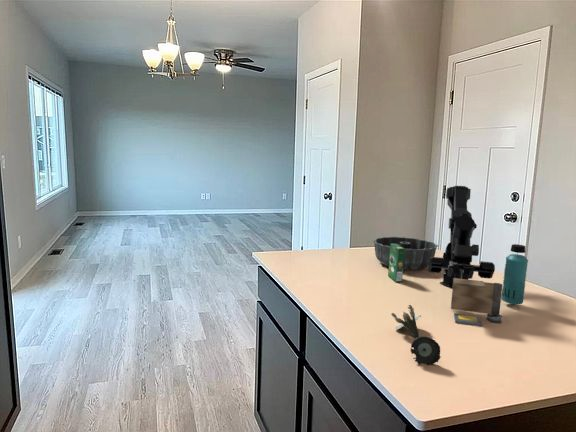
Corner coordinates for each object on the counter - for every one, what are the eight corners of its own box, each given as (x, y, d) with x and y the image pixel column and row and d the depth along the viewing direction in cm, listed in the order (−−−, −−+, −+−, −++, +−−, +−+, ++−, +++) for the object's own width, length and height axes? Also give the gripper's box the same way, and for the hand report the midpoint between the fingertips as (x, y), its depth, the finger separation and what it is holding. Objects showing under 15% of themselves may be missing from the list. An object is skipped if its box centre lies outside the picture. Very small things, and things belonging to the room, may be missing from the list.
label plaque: (479, 318, 128) (479, 315, 128) (481, 326, 122) (482, 323, 122) (453, 315, 130) (454, 312, 130) (455, 322, 124) (455, 320, 124)
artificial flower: (404, 369, 100) (394, 327, 100) (396, 339, 122) (388, 304, 122) (444, 363, 98) (434, 320, 98) (429, 333, 120) (421, 298, 120)
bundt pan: (386, 254, 204) (388, 233, 203) (443, 264, 189) (445, 241, 187) (361, 265, 183) (363, 242, 181) (423, 278, 168) (425, 252, 166)
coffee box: (402, 282, 161) (405, 248, 159) (395, 282, 160) (397, 248, 158) (394, 276, 169) (397, 243, 167) (387, 276, 168) (389, 243, 166)
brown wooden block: (498, 313, 127) (501, 281, 126) (502, 321, 121) (506, 288, 119) (450, 307, 131) (453, 276, 129) (452, 315, 125) (454, 282, 123)
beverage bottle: (521, 303, 142) (528, 243, 139) (524, 310, 136) (532, 248, 132) (499, 300, 144) (505, 241, 141) (501, 307, 138) (508, 245, 134)
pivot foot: (492, 317, 129) (493, 311, 129) (504, 321, 126) (505, 316, 126) (483, 319, 128) (483, 313, 127) (495, 324, 124) (496, 318, 124)
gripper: (432, 231, 136) (429, 275, 127) (497, 236, 131) (499, 282, 122) (429, 250, 145) (427, 292, 136) (490, 256, 139) (492, 300, 131)
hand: (460, 291), depth 131 cm, fingers closed
